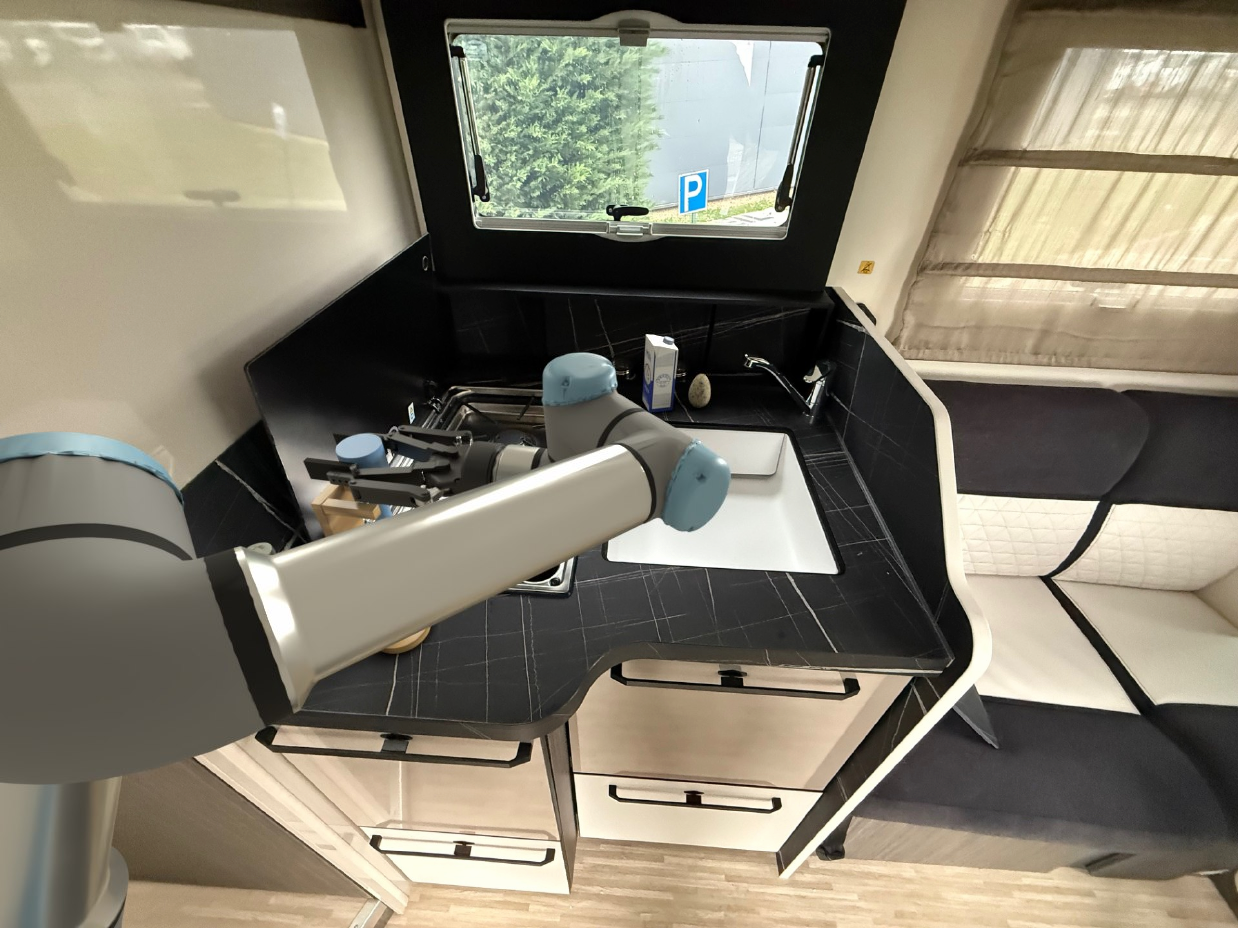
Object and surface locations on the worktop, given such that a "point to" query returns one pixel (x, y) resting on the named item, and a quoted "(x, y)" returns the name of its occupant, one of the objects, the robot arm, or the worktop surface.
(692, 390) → the decorative egg
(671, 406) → the milk carton
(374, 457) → the peg
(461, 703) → the worktop surface
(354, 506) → the stand
